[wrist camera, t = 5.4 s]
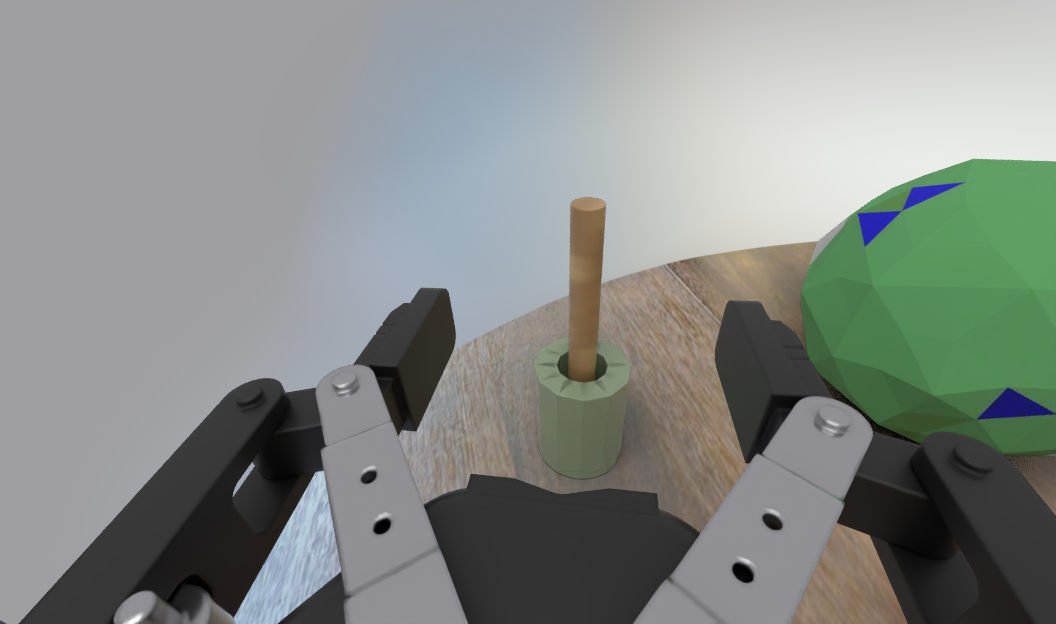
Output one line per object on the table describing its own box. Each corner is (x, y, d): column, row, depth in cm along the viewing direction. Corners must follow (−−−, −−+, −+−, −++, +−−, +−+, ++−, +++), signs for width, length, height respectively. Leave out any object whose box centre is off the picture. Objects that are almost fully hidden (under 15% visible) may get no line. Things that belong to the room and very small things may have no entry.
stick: (564, 441, 32) (566, 208, 22) (570, 422, 33) (575, 195, 23) (588, 446, 31) (602, 211, 21) (593, 428, 33) (608, 198, 22)
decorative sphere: (988, 486, 35) (1159, 604, 18) (755, 343, 45) (725, 334, 28) (1190, 284, 30) (1662, 192, 14) (881, 176, 40) (936, 45, 24)
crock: (527, 466, 31) (522, 387, 27) (551, 405, 36) (549, 329, 32) (613, 489, 30) (622, 408, 25) (626, 421, 34) (636, 343, 30)
